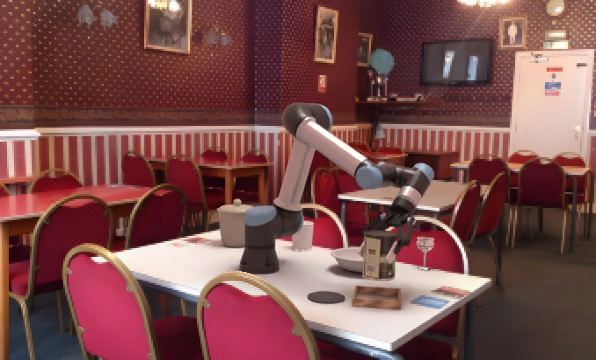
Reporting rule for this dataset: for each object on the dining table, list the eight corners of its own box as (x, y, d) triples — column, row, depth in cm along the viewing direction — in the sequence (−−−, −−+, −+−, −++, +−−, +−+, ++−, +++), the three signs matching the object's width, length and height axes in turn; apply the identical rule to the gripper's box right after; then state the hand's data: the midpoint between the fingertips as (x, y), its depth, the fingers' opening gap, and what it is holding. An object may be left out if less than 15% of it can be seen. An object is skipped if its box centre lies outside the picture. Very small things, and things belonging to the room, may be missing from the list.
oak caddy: (352, 306, 175) (352, 298, 175) (355, 292, 190) (355, 285, 189) (400, 309, 173) (401, 301, 173) (400, 295, 187) (400, 288, 187)
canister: (232, 251, 248) (232, 202, 246) (208, 244, 261) (209, 198, 259) (264, 246, 260) (265, 200, 258) (240, 239, 273) (241, 195, 271)
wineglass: (412, 267, 228) (413, 237, 227) (426, 266, 230) (428, 236, 229) (421, 271, 221) (422, 240, 220) (436, 270, 224) (437, 239, 223)
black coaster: (304, 302, 178) (304, 300, 178) (310, 291, 190) (310, 289, 190) (343, 305, 176) (343, 303, 176) (346, 294, 188) (346, 292, 188)
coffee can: (395, 274, 185) (398, 230, 183) (394, 282, 175) (396, 237, 173) (363, 271, 187) (365, 228, 185) (360, 279, 177) (362, 234, 175)
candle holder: (313, 252, 251) (313, 224, 250) (290, 251, 251) (291, 224, 250) (312, 247, 261) (313, 221, 259) (291, 246, 261) (291, 220, 260)
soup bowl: (318, 266, 224) (318, 250, 224) (368, 261, 236) (368, 245, 235) (353, 281, 203) (354, 263, 203) (406, 274, 215) (407, 257, 215)
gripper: (439, 215, 182) (408, 272, 172) (381, 206, 197) (350, 257, 188) (431, 200, 177) (399, 257, 168) (373, 192, 193) (340, 243, 183)
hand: (373, 257), depth 178 cm, fingers closed on coffee can, 10 cm apart
